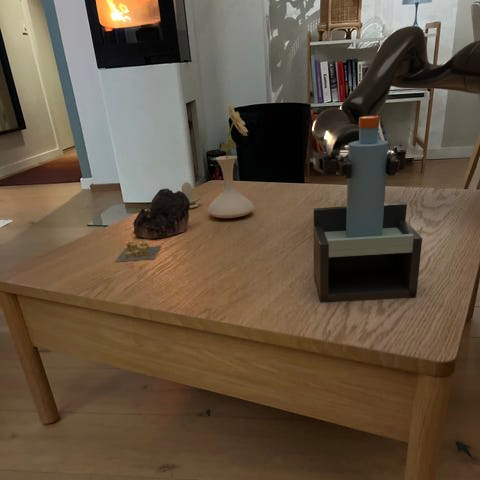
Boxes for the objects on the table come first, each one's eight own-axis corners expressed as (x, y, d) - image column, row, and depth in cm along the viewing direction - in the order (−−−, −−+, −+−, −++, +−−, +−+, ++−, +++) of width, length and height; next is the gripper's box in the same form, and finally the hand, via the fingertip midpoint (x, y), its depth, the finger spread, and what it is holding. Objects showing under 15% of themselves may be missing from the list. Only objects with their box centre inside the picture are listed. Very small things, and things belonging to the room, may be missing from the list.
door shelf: (320, 302, 71) (320, 227, 65) (313, 276, 79) (313, 208, 74) (416, 297, 70) (424, 220, 64) (399, 271, 78) (404, 202, 73)
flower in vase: (238, 224, 110) (229, 106, 99) (199, 220, 116) (185, 108, 104) (266, 209, 120) (260, 100, 108) (228, 206, 125) (219, 103, 114)
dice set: (128, 250, 100) (126, 241, 99) (152, 248, 99) (150, 239, 98) (122, 258, 95) (120, 249, 94) (147, 257, 95) (145, 248, 94)
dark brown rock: (122, 242, 107) (115, 199, 101) (147, 220, 118) (141, 180, 112) (178, 247, 104) (173, 203, 98) (198, 224, 115) (195, 183, 109)
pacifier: (196, 210, 125) (204, 203, 130) (193, 186, 122) (201, 180, 127) (171, 210, 127) (179, 203, 132) (167, 186, 124) (176, 181, 129)
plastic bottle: (378, 228, 72) (385, 113, 65) (385, 240, 68) (394, 117, 60) (343, 231, 73) (346, 116, 65) (348, 242, 68) (352, 120, 60)
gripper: (306, 128, 77) (316, 143, 62) (397, 121, 76) (429, 135, 61) (307, 175, 80) (316, 201, 65) (393, 169, 79) (423, 194, 64)
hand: (371, 169), depth 63 cm, fingers closed on plastic bottle, 5 cm apart
